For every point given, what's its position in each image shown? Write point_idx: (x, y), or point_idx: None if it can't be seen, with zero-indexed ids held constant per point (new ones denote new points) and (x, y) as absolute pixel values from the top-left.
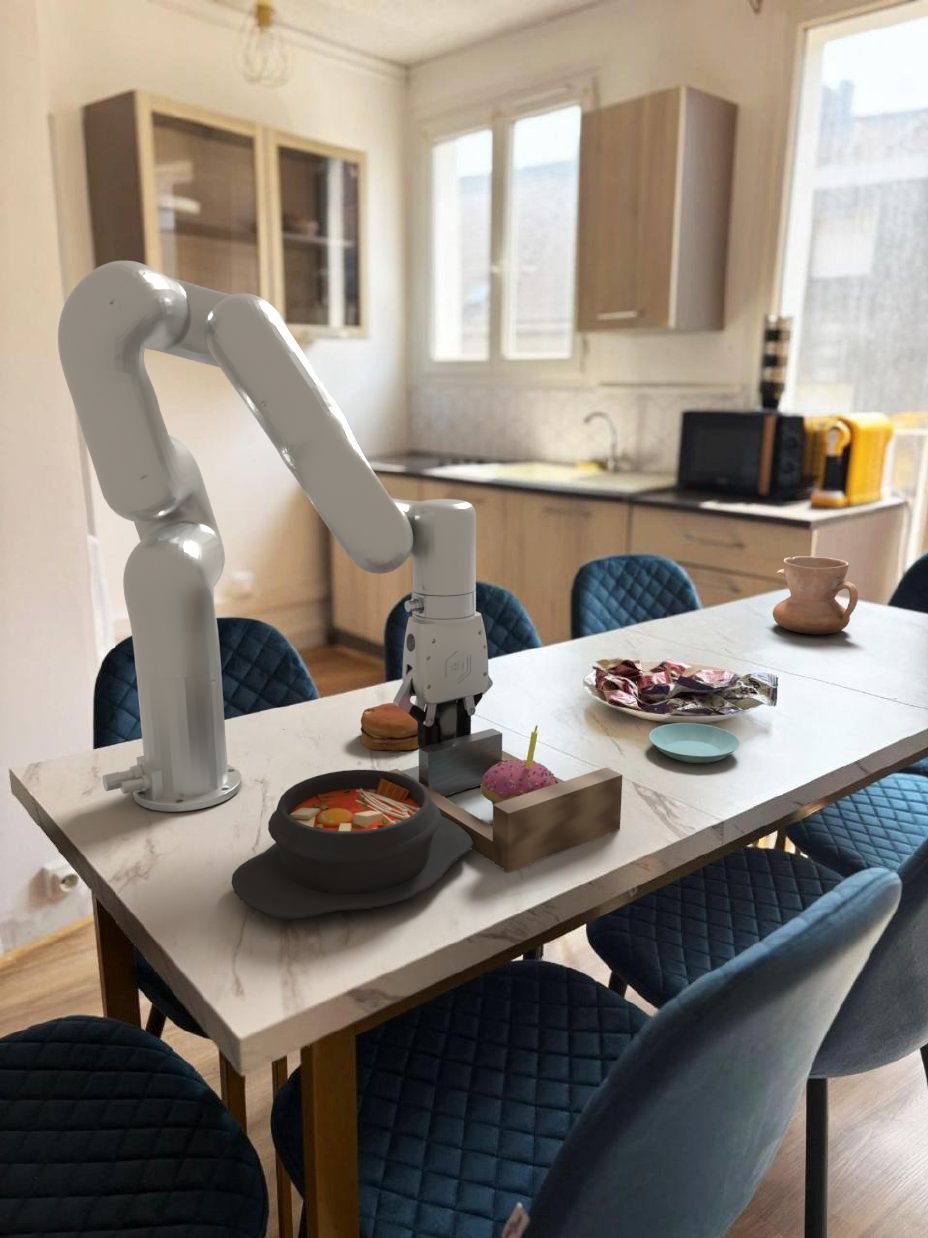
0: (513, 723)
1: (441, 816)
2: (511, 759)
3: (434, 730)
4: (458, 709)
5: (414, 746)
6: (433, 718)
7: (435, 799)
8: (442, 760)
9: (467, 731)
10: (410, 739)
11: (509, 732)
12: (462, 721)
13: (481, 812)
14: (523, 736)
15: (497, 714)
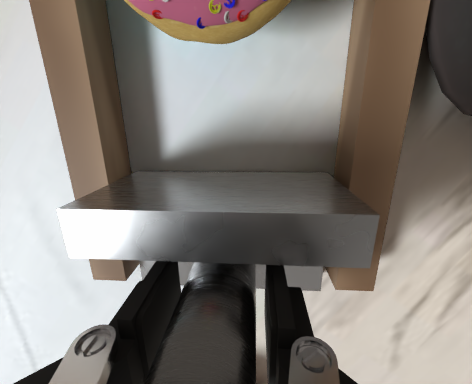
0: (2, 341)
1: (439, 4)
2: (87, 181)
3: (287, 314)
4: (130, 380)
5: None
6: (294, 364)
7: (389, 95)
8: (307, 198)
9: (152, 281)
10: None
11: (24, 320)
12: (149, 321)
13: (262, 66)
14: (8, 296)
15: (12, 378)
